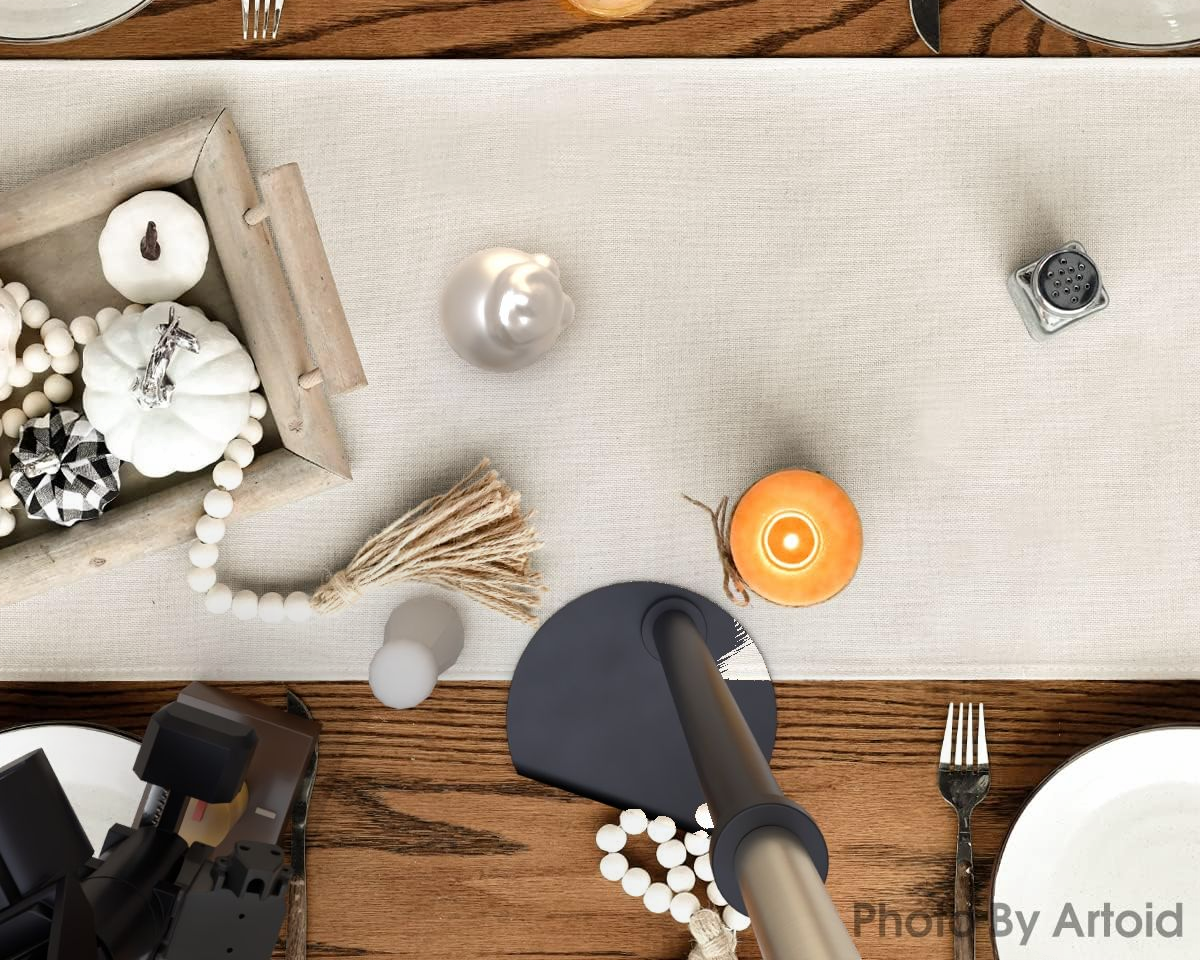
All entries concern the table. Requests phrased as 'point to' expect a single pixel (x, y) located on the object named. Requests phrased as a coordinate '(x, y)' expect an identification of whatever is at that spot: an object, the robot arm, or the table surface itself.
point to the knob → (212, 819)
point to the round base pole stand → (676, 748)
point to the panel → (258, 763)
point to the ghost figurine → (504, 308)
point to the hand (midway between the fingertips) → (205, 811)
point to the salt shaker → (415, 651)
